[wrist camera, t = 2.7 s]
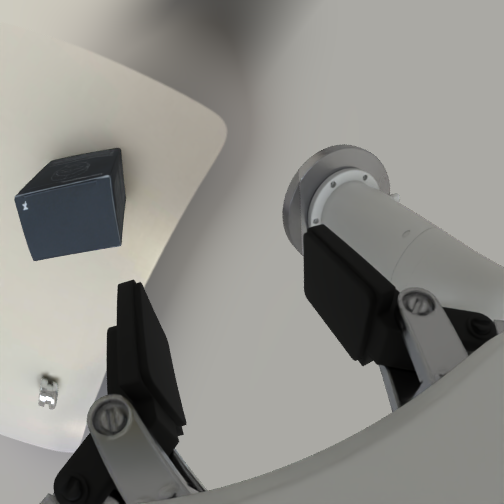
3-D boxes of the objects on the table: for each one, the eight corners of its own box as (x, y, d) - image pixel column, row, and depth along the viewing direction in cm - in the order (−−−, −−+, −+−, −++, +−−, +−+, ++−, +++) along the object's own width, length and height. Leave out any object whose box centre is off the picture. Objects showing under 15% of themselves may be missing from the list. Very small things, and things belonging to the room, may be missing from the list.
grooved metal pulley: (43, 371, 36) (40, 396, 32) (59, 377, 37) (57, 402, 33) (40, 386, 37) (37, 409, 33) (55, 391, 38) (53, 415, 34)
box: (60, 210, 26) (31, 263, 18) (50, 160, 23) (11, 194, 15) (127, 199, 29) (122, 248, 20) (121, 146, 26) (110, 174, 17)
